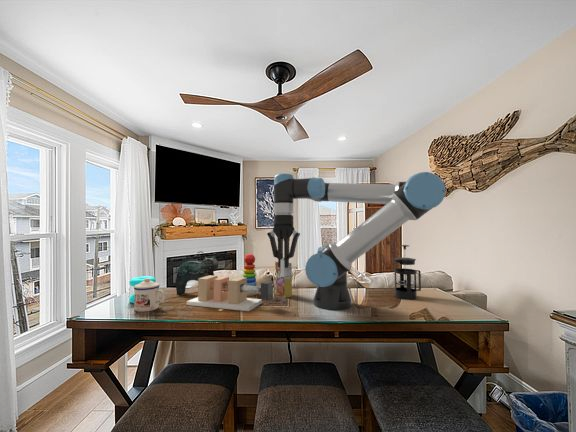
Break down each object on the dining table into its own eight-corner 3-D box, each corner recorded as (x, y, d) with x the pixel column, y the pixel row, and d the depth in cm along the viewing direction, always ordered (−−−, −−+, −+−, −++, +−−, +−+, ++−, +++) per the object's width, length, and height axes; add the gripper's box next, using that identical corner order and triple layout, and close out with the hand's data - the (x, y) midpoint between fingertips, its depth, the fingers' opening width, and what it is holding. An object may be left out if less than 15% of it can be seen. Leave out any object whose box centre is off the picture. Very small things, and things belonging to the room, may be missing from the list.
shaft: (272, 296, 116) (272, 281, 116) (267, 299, 111) (267, 283, 112) (225, 292, 123) (225, 278, 123) (219, 295, 118) (219, 280, 119)
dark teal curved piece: (219, 293, 140) (219, 250, 140) (213, 296, 133) (213, 252, 134) (180, 291, 143) (180, 250, 143) (172, 295, 136) (173, 251, 137)
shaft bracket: (262, 303, 121) (261, 277, 122) (248, 311, 110) (248, 283, 110) (204, 297, 131) (204, 274, 131) (186, 304, 119) (186, 278, 120)
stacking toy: (254, 296, 132) (254, 255, 133) (237, 296, 134) (237, 254, 134) (259, 292, 140) (259, 253, 140) (243, 292, 141) (243, 253, 142)
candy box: (274, 294, 137) (274, 261, 138) (283, 292, 139) (282, 260, 140) (283, 298, 129) (283, 263, 130) (292, 297, 131) (292, 262, 132)
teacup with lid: (128, 311, 110) (128, 280, 111) (143, 305, 119) (143, 276, 120) (157, 312, 109) (157, 281, 109) (170, 306, 118) (171, 276, 118)
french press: (396, 299, 126) (395, 245, 126) (390, 294, 135) (389, 244, 136) (424, 299, 125) (423, 245, 126) (416, 294, 134) (415, 244, 135)
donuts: (139, 275, 132) (160, 276, 130) (139, 297, 131) (160, 298, 130) (123, 279, 122) (145, 280, 120) (123, 303, 121) (145, 304, 120)
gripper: (302, 214, 114) (302, 275, 114) (271, 214, 119) (271, 273, 118) (296, 214, 107) (296, 279, 107) (264, 214, 111) (263, 276, 111)
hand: (283, 276), depth 112 cm, fingers closed
